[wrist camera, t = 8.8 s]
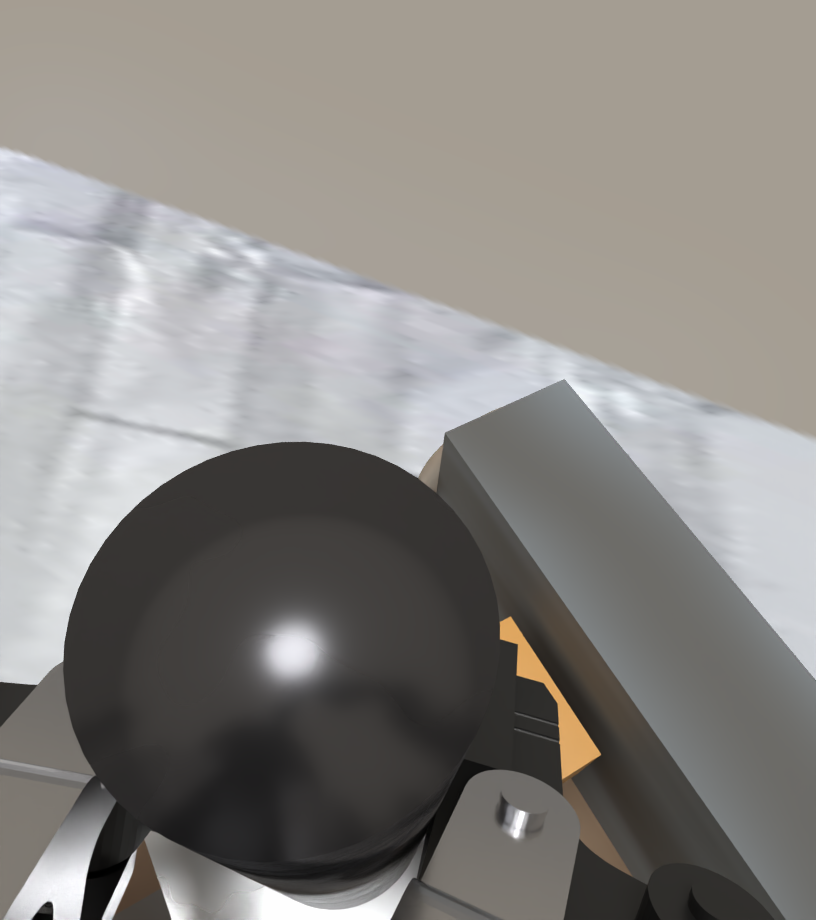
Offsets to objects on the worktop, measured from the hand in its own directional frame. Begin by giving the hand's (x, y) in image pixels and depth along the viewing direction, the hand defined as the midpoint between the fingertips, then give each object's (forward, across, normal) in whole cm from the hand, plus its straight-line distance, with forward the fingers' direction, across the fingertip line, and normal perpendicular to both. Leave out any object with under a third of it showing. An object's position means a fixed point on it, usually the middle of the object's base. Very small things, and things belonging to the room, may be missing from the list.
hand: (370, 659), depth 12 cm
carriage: (+2, 0, +5) cm, 5 cm away
